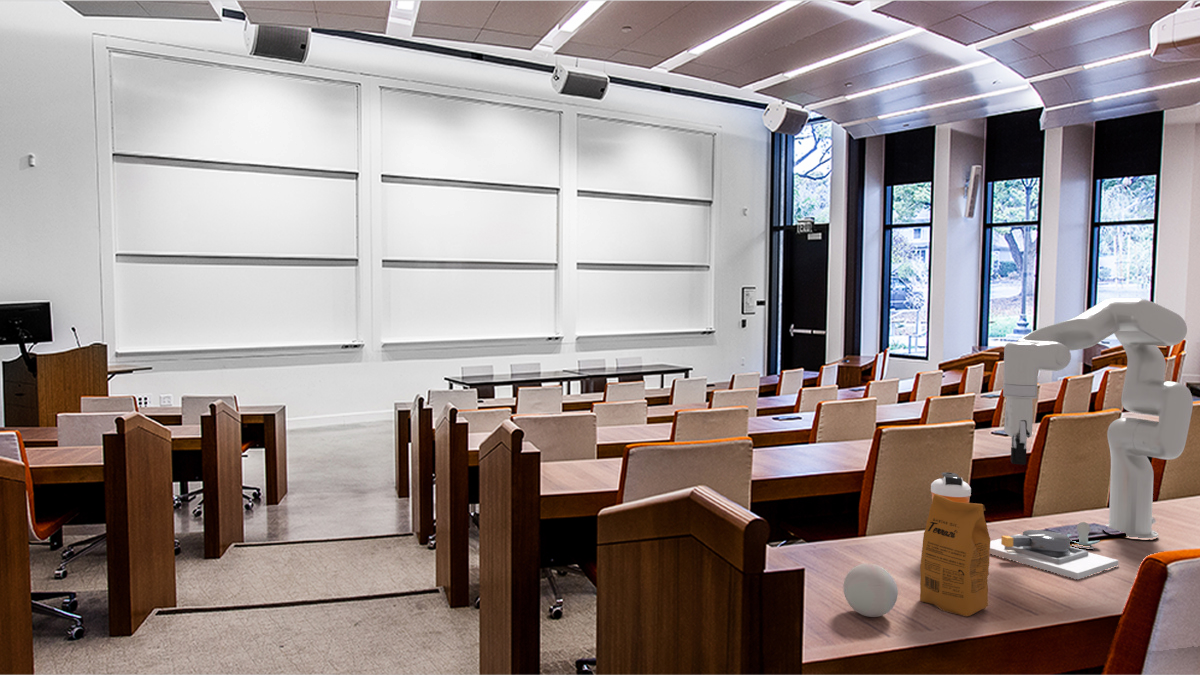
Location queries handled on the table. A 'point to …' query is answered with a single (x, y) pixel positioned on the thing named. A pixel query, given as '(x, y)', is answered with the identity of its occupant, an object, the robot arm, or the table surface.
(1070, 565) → the panel
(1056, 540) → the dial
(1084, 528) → the pacifier
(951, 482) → the shaker bottle
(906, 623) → the table surface
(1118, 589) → the table surface
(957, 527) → the coffee package
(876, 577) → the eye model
